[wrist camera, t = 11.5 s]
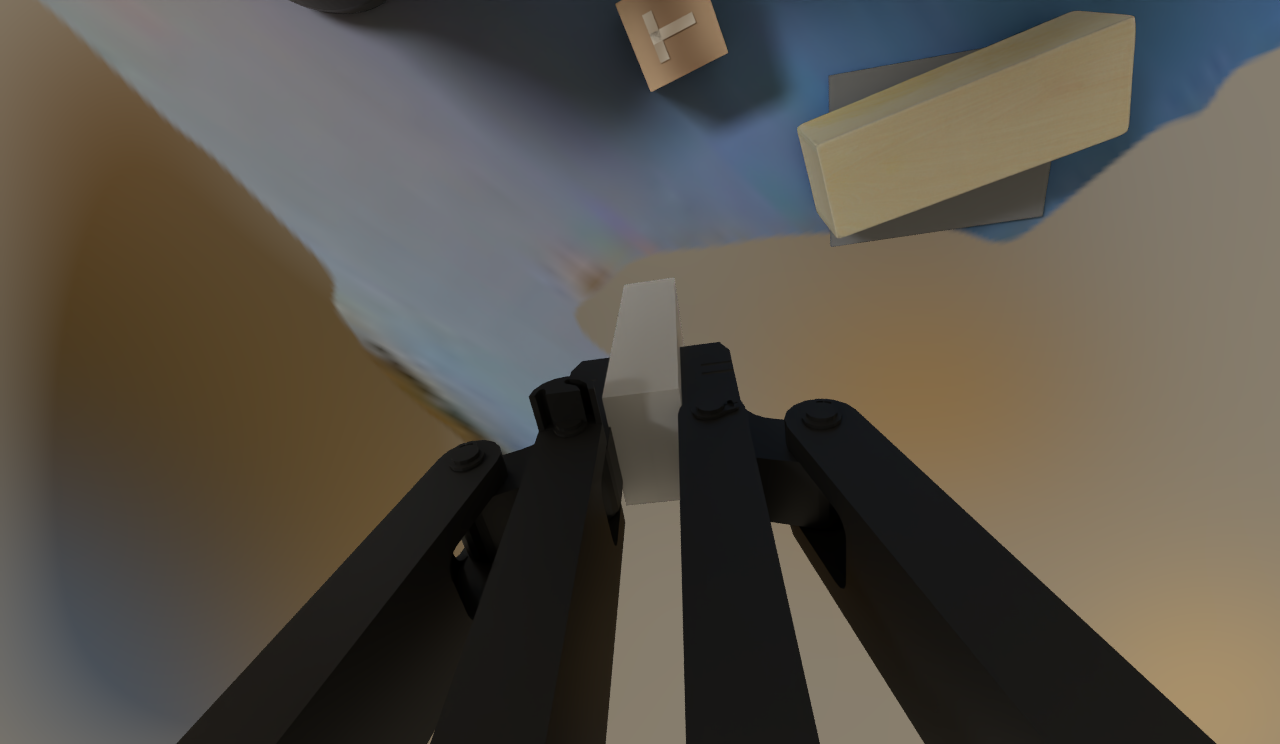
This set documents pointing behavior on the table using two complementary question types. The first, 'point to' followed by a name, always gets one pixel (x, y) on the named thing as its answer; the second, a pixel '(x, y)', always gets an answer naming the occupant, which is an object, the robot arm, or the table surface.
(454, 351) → the table surface
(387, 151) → the table surface
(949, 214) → the mat
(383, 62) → the table surface
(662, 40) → the letter cube
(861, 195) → the light wooden block
